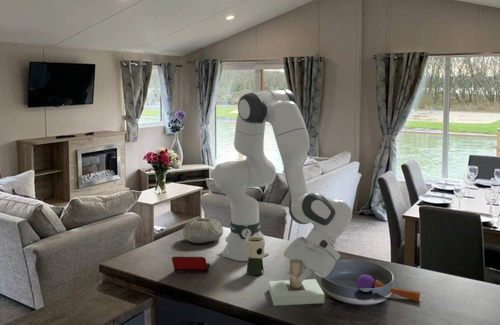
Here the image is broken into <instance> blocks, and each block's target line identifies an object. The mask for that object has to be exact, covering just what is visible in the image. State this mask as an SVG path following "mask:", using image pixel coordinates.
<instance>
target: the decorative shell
mask: <svg viewBox="0 0 500 325" xmlns="http://www.w3.org/2000/svg"><path fill="white" fill-rule="evenodd" d="M182 234H183V237H184V239H185V240H187V241H188V242H191V243H196V244H205V243H209V242H214V241H217V240H219V239H220V238H221V237H222V236H223V234H224V229H223V226H222V224H221V222H220V221H218V220H216V219H214V218H204V217H196V218H193V219H190V220H189V221H187V222H186V223H185V224H184V226H183V229H182Z"/></svg>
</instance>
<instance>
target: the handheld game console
mask: <svg viewBox="0 0 500 325" xmlns="http://www.w3.org/2000/svg"><path fill="white" fill-rule="evenodd" d="M171 261H172V265H173V270H174V273H202V274H203V273H208V271H209V269H210V267H211V263H210V262H208V263H207V259H206V257H204V256H172V257H171Z"/></svg>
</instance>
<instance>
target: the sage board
mask: <svg viewBox="0 0 500 325" xmlns="http://www.w3.org/2000/svg"><path fill="white" fill-rule="evenodd" d="M268 291H269V295H270V298H271V301H272V305H273V306H274V307H275V306H276V307H277V306H292V305H311V304H312V305H313V304H325V293H324V291H323V289H322V288H321V286H320V285H319V283H318V280H317V279H316V278H310V279H304V280H303V282H302V288H301V291H290V279H289V280H288V279H287V280H268Z"/></svg>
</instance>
